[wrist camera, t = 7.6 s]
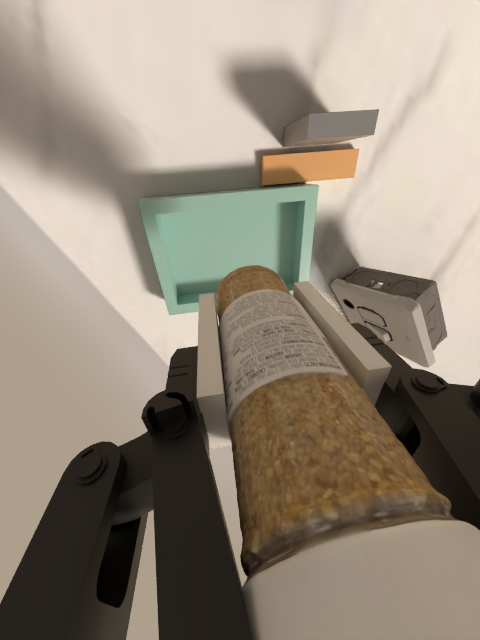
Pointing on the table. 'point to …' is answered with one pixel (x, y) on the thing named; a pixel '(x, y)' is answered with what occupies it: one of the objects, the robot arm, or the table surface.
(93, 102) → the table surface
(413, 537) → the sprinkles bottle
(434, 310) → the electrical switch
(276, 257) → the parts tray
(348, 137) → the grey and orange blocks
